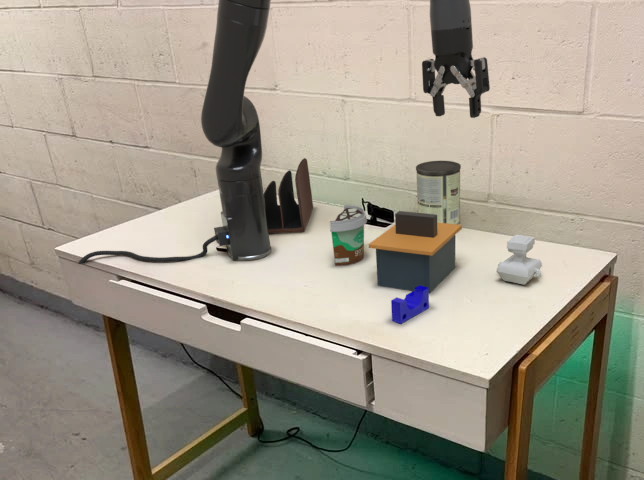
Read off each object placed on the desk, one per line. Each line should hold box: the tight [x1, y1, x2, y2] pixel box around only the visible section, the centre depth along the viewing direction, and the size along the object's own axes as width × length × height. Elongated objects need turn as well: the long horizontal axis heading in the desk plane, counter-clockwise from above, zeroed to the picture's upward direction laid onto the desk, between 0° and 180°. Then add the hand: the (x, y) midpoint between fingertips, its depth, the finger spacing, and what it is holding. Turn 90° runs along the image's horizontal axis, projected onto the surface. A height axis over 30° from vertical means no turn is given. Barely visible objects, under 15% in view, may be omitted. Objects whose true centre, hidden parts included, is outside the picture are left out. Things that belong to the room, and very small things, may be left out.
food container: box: [329, 204, 368, 267], centre depth 147 cm, size 12×6×10 cm, turn 168°
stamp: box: [496, 234, 543, 286], centre depth 133 cm, size 9×7×8 cm
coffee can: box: [415, 160, 462, 225], centre depth 163 cm, size 10×10×14 cm
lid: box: [368, 210, 463, 256], centre depth 134 cm, size 16×13×5 cm
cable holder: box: [390, 285, 430, 325], centre depth 123 cm, size 8×4×4 cm, turn 139°
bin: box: [375, 234, 456, 294], centre depth 137 cm, size 14×11×8 cm
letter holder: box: [263, 157, 314, 234], centre depth 171 cm, size 10×20×14 cm, turn 179°
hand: (457, 116), depth 136 cm, fingers open, 8 cm apart
